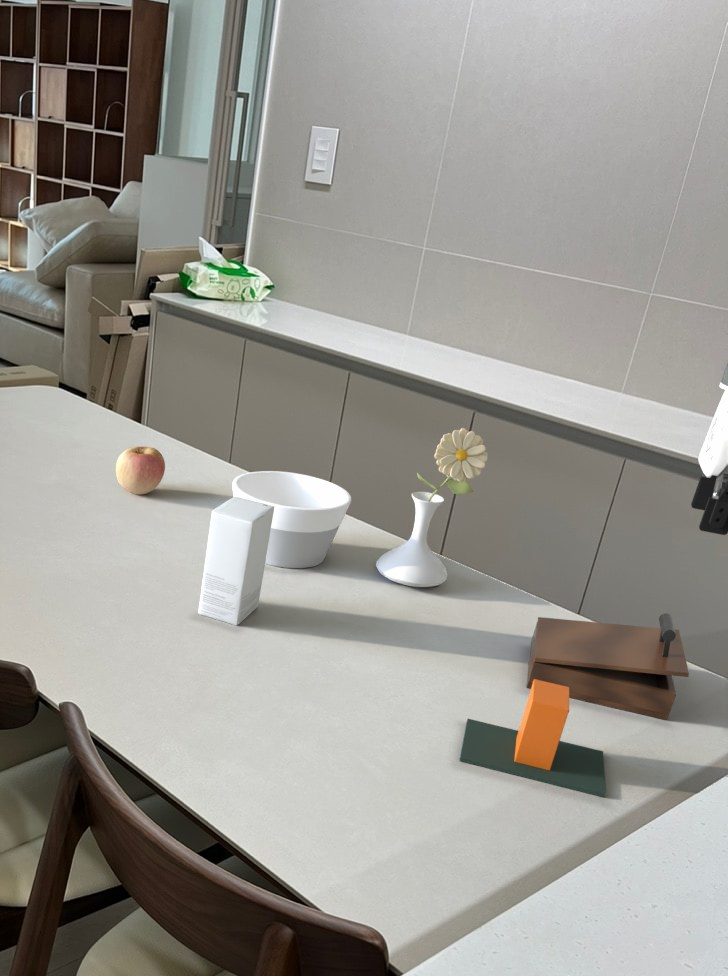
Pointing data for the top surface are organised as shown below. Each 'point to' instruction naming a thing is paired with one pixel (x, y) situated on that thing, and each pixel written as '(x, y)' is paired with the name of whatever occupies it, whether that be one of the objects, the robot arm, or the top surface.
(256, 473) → the bowl
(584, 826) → the top surface
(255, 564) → the cosmetic box
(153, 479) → the apple
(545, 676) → the chest
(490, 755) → the mat
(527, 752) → the orange block
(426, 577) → the flower in vase
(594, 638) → the lid
